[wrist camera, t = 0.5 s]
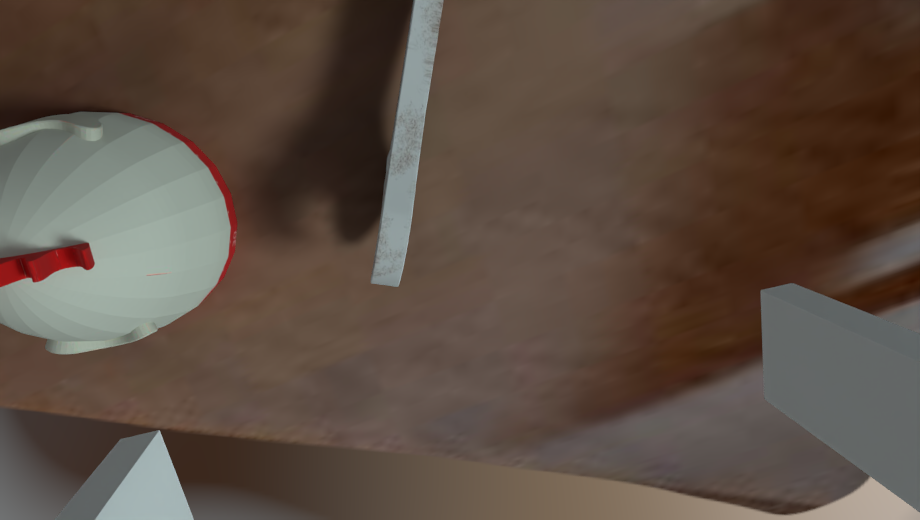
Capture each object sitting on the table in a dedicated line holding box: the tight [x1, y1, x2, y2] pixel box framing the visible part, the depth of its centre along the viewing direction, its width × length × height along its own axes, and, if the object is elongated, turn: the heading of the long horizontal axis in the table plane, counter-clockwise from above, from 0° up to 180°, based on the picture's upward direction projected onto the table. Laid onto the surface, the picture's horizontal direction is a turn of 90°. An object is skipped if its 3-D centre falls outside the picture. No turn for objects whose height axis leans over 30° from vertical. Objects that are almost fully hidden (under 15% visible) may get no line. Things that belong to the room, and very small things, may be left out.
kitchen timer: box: [0, 112, 237, 354], centre depth 28 cm, size 14×14×15 cm
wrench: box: [371, 0, 444, 287], centre depth 32 cm, size 8×2×30 cm
